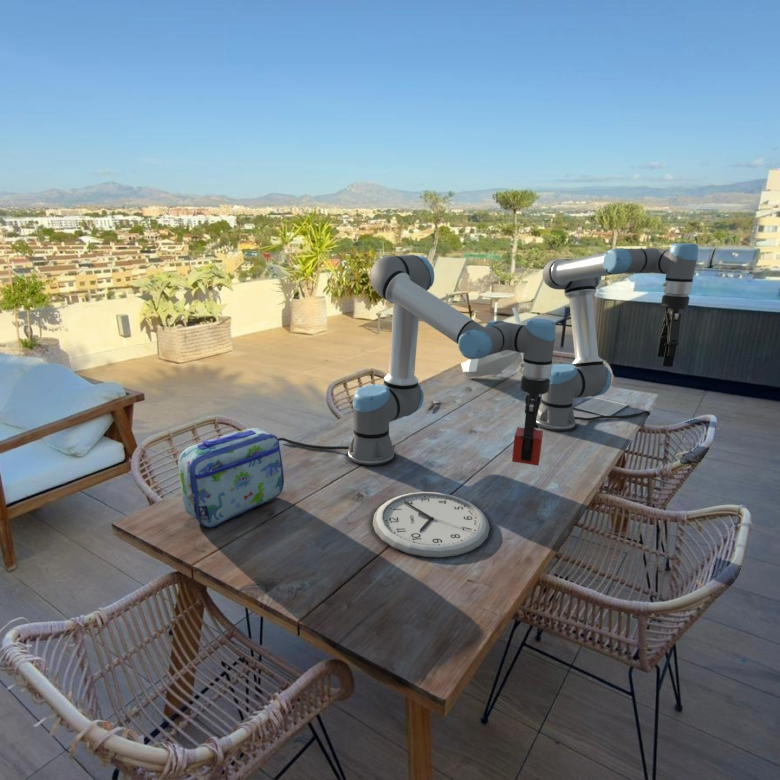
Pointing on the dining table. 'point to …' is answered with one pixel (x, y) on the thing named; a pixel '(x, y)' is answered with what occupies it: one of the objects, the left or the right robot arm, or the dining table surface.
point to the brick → (535, 449)
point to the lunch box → (230, 475)
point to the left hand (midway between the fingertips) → (527, 454)
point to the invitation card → (601, 406)
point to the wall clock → (431, 524)
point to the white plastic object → (492, 360)
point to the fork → (434, 402)
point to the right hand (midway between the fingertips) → (664, 361)
